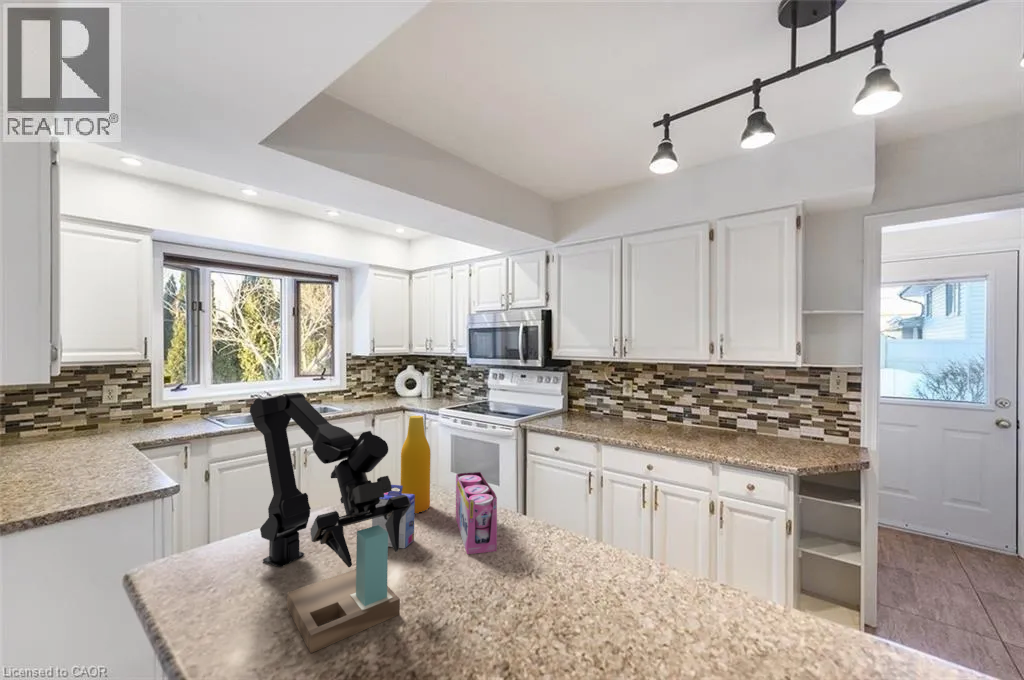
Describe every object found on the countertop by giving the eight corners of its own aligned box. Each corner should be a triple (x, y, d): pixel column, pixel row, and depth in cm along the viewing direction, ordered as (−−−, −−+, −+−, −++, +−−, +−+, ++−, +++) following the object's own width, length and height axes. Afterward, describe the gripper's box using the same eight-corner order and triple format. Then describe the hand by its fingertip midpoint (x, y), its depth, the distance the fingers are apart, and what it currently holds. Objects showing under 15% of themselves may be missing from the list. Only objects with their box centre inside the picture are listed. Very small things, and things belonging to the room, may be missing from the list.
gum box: (499, 554, 105) (499, 499, 105) (467, 558, 103) (468, 502, 103) (480, 516, 128) (481, 471, 128) (454, 518, 126) (455, 473, 126)
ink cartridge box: (415, 539, 112) (416, 485, 112) (406, 549, 107) (407, 492, 107) (381, 536, 114) (382, 482, 114) (370, 545, 109) (371, 489, 109)
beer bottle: (416, 500, 140) (417, 413, 140) (436, 507, 134) (437, 416, 135) (393, 509, 132) (394, 417, 133) (413, 516, 127) (415, 420, 127)
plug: (355, 595, 82) (356, 531, 82) (377, 586, 85) (378, 524, 85) (364, 606, 78) (365, 539, 79) (387, 597, 81) (388, 532, 81)
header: (287, 607, 83) (287, 591, 83) (367, 578, 93) (367, 564, 93) (310, 653, 71) (311, 634, 71) (399, 614, 81) (399, 597, 81)
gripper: (315, 473, 79) (334, 555, 70) (407, 456, 91) (433, 525, 83) (303, 503, 85) (319, 582, 76) (391, 483, 97) (413, 550, 88)
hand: (374, 558), depth 81 cm, fingers open, 9 cm apart
